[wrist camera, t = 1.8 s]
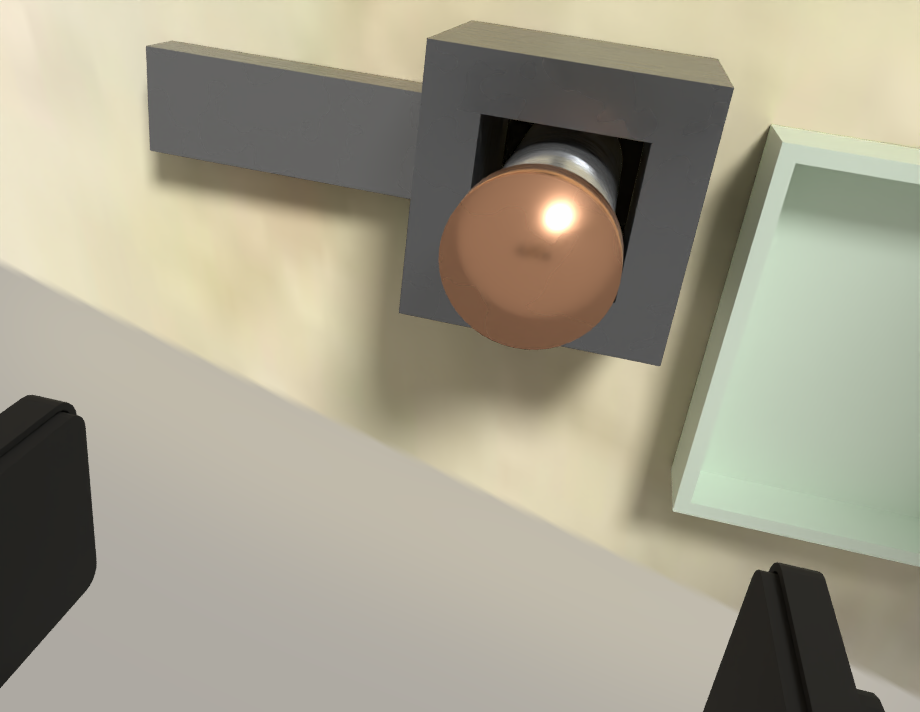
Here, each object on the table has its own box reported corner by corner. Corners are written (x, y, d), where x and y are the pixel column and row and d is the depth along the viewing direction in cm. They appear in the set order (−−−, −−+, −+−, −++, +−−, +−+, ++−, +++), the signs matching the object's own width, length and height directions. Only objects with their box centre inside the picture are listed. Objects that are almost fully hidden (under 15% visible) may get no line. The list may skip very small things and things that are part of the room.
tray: (771, 124, 31) (782, 142, 28) (1131, 183, 29) (1182, 209, 26) (671, 468, 38) (672, 511, 35) (958, 532, 36) (984, 581, 33)
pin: (645, 108, 32) (640, 192, 21) (618, 232, 34) (601, 365, 23) (519, 88, 32) (450, 158, 21) (500, 209, 34) (429, 329, 24)
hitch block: (718, 59, 30) (733, 87, 24) (659, 291, 34) (660, 366, 28) (170, -27, 33) (58, -22, 27) (176, 197, 37) (80, 247, 31)
